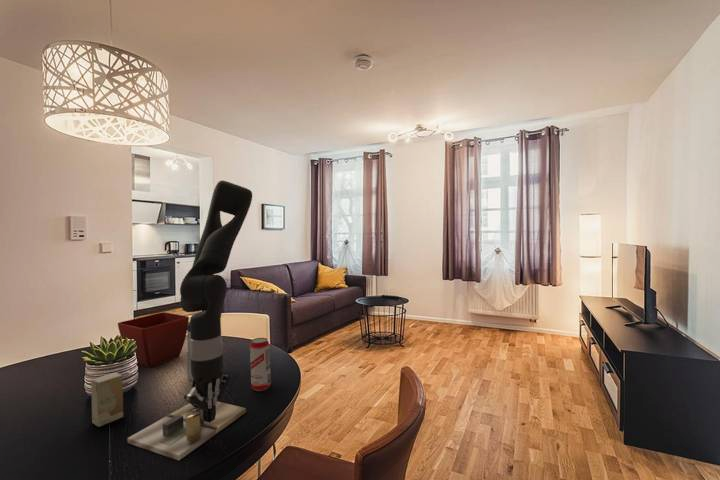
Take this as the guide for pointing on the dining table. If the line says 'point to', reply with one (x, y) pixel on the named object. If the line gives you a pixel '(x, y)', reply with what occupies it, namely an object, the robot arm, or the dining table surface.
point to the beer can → (260, 364)
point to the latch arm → (194, 424)
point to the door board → (183, 431)
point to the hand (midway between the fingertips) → (209, 420)
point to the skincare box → (107, 399)
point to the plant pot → (156, 336)
